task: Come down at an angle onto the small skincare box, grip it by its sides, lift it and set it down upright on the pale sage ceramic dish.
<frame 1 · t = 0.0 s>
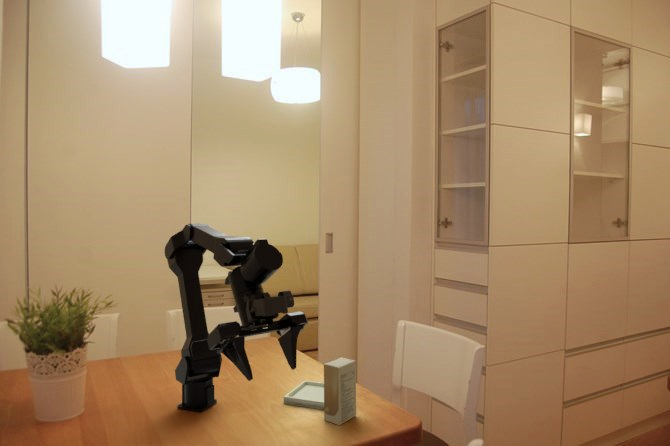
hand: (273, 374, 83), 15 cm above the table, tool tilted 35°, fingers open, 9 cm apart
skincare box: (340, 419, 100), on the table
sage dish: (317, 397, 111), on the table
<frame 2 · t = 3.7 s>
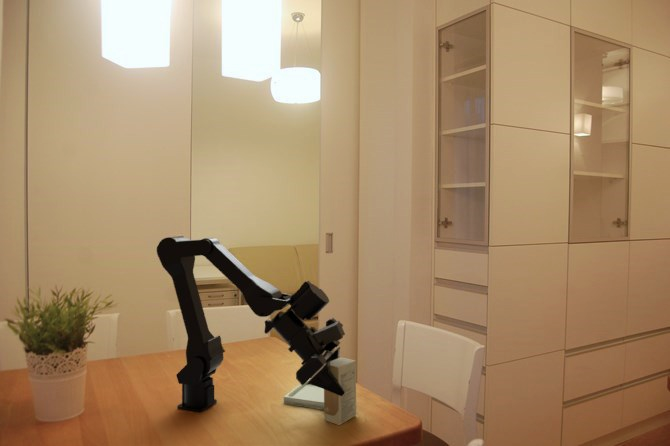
hand: (346, 388, 99), 7 cm above the table, tool tilted 45°, fingers closed on skincare box, 7 cm apart
skincare box: (340, 419, 100), on the table, touching gripper
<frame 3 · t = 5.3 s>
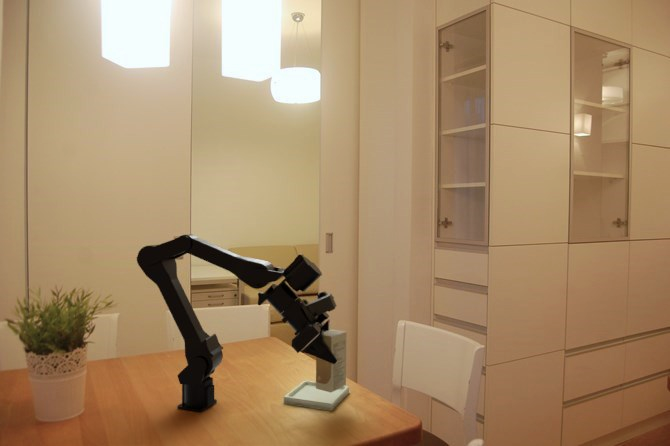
hand: (337, 357, 103), 12 cm above the table, tool tilted 45°, fingers closed on skincare box, 7 cm apart
skincare box: (330, 388, 103), point 5 cm above the table, touching gripper
when the fingers open (9 cm above the table, at t = 7.0 s): skincare box drops 1 cm, resting on sage dish.
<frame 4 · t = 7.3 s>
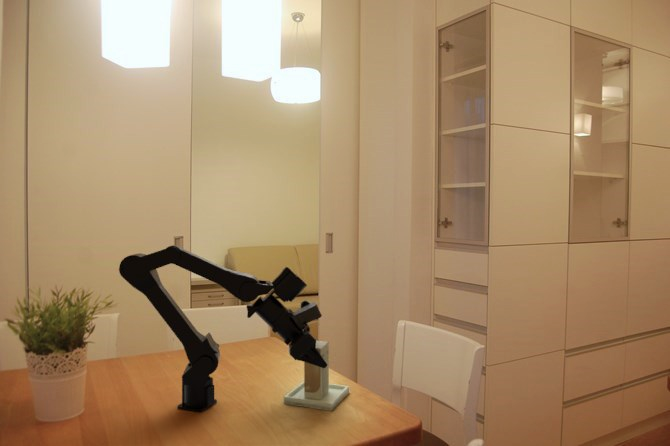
hand: (323, 360, 112), 9 cm above the table, tool tilted 45°, fingers open, 9 cm apart
skincare box: (316, 395, 111), point 1 cm above the table, touching sage dish
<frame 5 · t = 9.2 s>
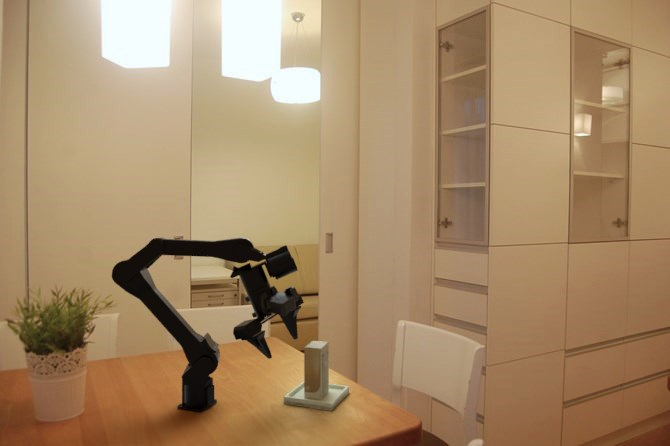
hand: (283, 348, 110), 12 cm above the table, tool tilted 25°, fingers open, 9 cm apart
nothing on the table moved.
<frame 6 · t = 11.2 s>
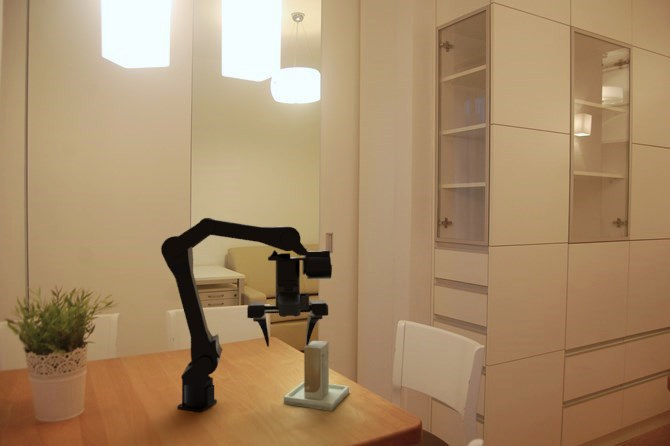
hand: (287, 345, 110), 13 cm above the table, tool pointing down, fingers open, 9 cm apart
skincare box: (316, 395, 111), point 1 cm above the table, touching gripper, sage dish
at the end: skincare box inside the target area on the sage dish (0.2 cm from its centre), point 0.6 cm above the sage dish's base; skincare box tilted 0°; the gripper is holding nothing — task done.
